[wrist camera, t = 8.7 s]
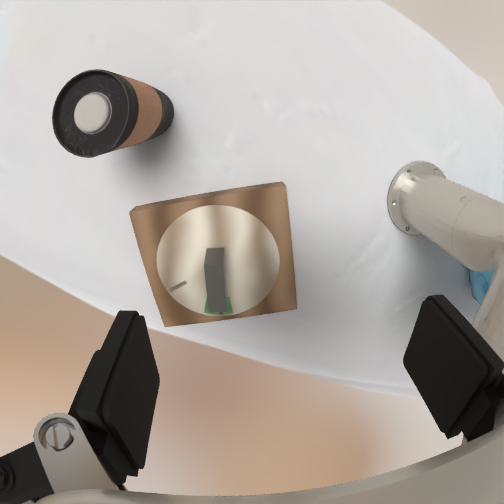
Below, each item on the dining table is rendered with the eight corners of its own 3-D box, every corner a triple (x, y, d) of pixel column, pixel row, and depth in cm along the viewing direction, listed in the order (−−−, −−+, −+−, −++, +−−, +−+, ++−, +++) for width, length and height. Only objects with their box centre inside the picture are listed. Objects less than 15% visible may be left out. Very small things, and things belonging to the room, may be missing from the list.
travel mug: (137, 80, 36) (70, 58, 18) (185, 98, 38) (146, 82, 20) (116, 129, 39) (40, 143, 21) (162, 147, 41) (110, 171, 22)
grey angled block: (207, 244, 43) (203, 264, 37) (224, 243, 43) (223, 263, 37) (213, 312, 48) (211, 338, 42) (228, 312, 48) (229, 337, 42)
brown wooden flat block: (282, 181, 44) (286, 186, 41) (293, 298, 52) (297, 310, 49) (135, 206, 44) (127, 213, 41) (167, 316, 52) (164, 329, 49)
